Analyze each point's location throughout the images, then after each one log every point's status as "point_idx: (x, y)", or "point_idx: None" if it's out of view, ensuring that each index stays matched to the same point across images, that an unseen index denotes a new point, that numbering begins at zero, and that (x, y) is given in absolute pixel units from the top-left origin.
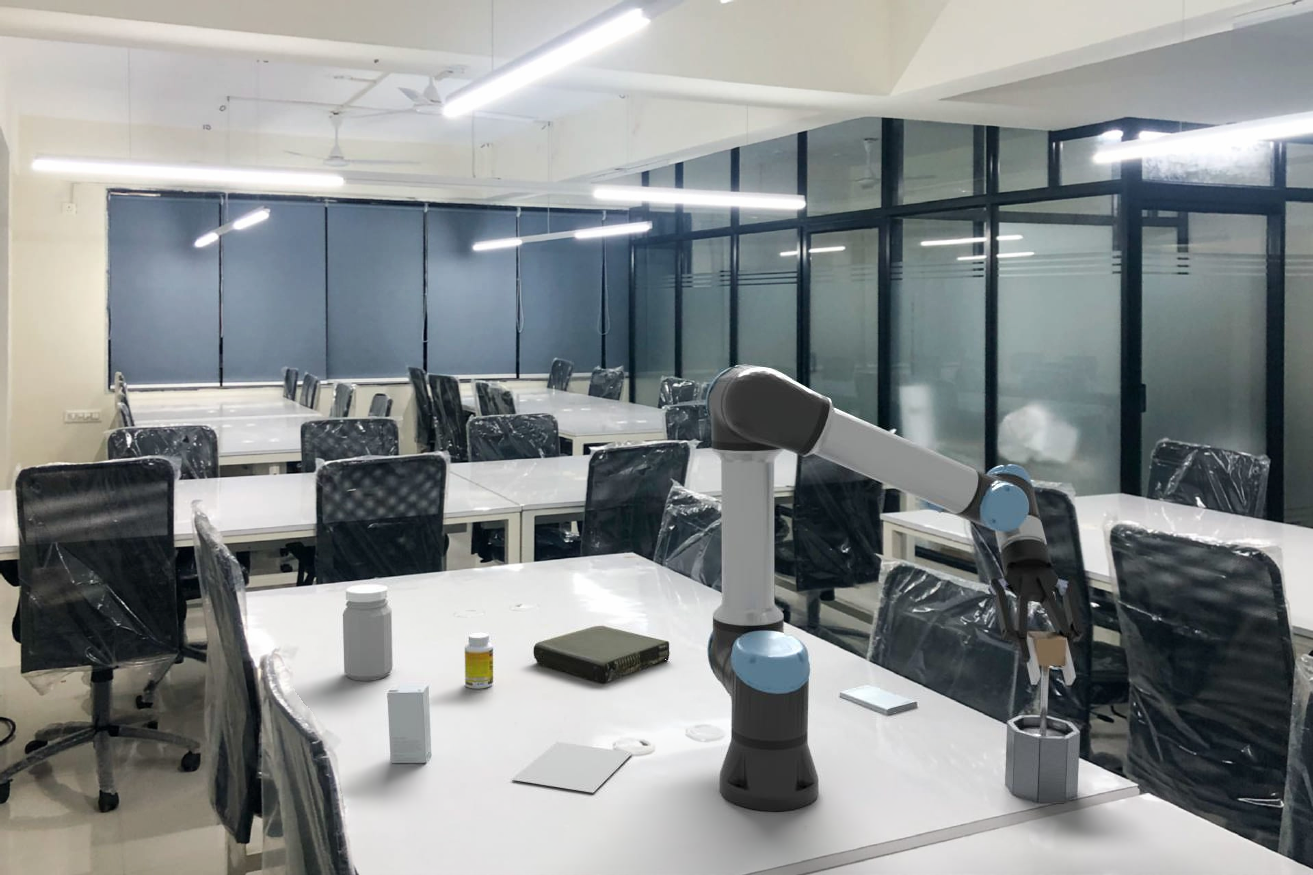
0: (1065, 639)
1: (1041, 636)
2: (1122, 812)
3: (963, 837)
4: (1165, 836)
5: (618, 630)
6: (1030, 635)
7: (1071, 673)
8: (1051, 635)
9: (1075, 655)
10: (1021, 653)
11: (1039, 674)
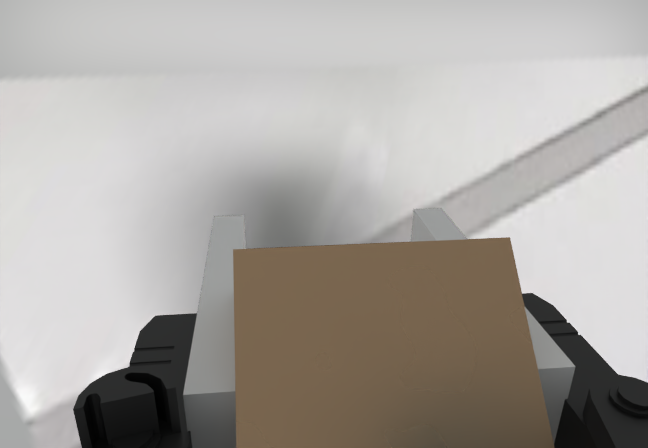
0: (237, 257)
1: (450, 346)
2: (135, 298)
3: (513, 155)
4: (92, 184)
5: None
6: (543, 429)
7: (235, 223)
8: (339, 401)
9: (151, 329)
10: (557, 318)
11: (422, 213)
